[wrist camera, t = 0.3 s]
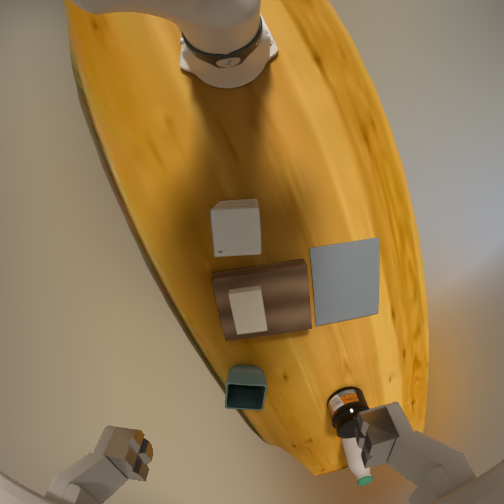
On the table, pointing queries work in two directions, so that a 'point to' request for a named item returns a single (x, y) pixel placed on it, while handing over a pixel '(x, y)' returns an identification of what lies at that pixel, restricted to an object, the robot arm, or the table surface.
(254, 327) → the beige rectangular block
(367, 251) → the mat
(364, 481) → the milk bottle
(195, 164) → the table surface
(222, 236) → the supplement box
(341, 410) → the supplement container
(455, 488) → the robot arm
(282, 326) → the board
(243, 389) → the flower pot
